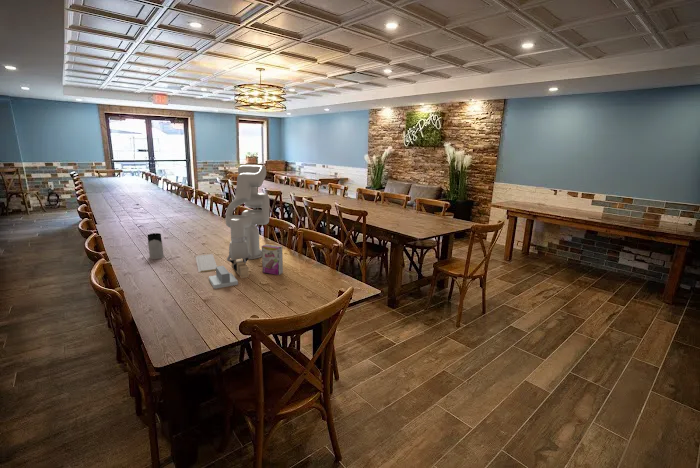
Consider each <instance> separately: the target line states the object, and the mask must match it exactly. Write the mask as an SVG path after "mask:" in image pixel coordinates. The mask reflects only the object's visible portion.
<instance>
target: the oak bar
mask: <svg viewBox="0 0 700 468" xmlns="http://www.w3.org/2000/svg"><path fill="white" fill-rule="evenodd" d="M230 259H231V258H230ZM231 260H232V259H231ZM236 265H237V271H235V269H234V268H233V263H231V267H232V268H233V270H234V271H235V272H236V274H237V275H239V277H240V278H241V279H244V278H249V277H250V275H249V272H250V271H249V266H248V265H247V264H245V263H244V262H243V259H236Z"/></svg>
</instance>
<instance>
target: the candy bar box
mask: <svg viewBox="0 0 700 468" xmlns="http://www.w3.org/2000/svg"><path fill="white" fill-rule="evenodd" d="M261 250H262V257H261V267H262V274H268V275H274V276H280V275H282V274H283V273H284V269H283V268H284V267H283V265H284V264H283V261H284V260H283V258H284V257H283V256H284V255H283V246H281V245H276V244H275V245H274V244H269V243H266V244H263V245H261Z"/></svg>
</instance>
